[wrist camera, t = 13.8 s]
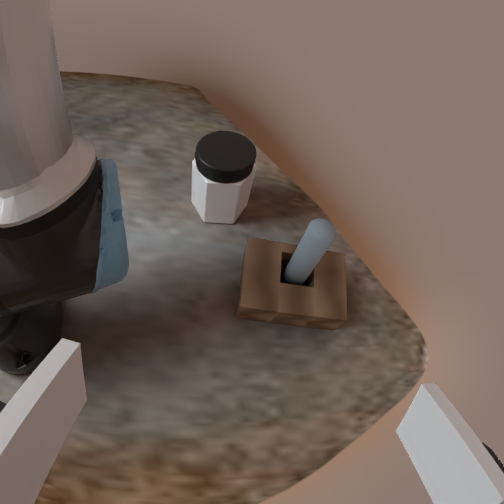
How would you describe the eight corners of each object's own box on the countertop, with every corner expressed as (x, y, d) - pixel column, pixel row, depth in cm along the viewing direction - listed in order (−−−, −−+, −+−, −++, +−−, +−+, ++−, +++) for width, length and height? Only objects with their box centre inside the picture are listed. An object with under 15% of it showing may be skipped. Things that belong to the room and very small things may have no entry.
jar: (212, 176, 54) (218, 121, 44) (254, 197, 54) (268, 144, 43) (182, 210, 50) (181, 155, 40) (226, 235, 49) (235, 182, 39)
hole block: (235, 317, 43) (239, 306, 39) (244, 253, 48) (248, 237, 44) (334, 330, 44) (347, 320, 40) (333, 268, 49) (345, 253, 45)
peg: (278, 292, 46) (308, 240, 34) (279, 272, 47) (308, 216, 35) (300, 295, 46) (336, 245, 34) (300, 275, 48) (335, 221, 36)
